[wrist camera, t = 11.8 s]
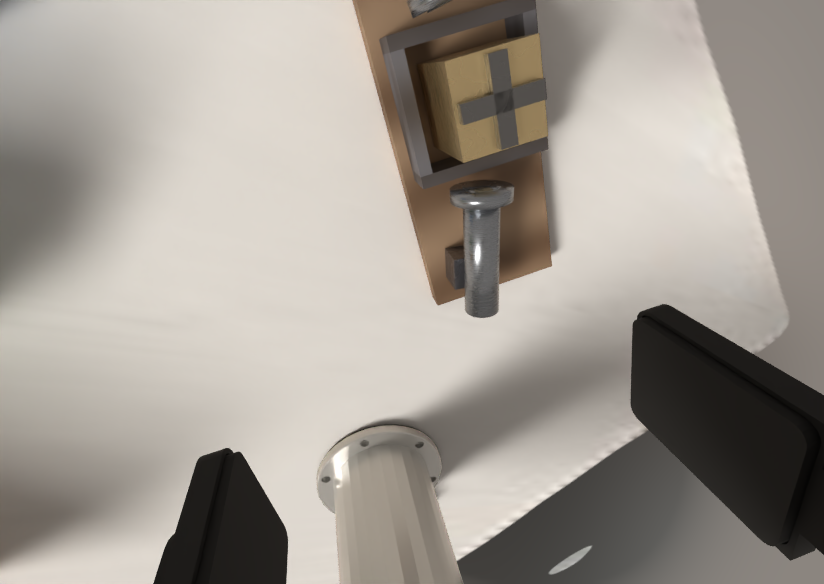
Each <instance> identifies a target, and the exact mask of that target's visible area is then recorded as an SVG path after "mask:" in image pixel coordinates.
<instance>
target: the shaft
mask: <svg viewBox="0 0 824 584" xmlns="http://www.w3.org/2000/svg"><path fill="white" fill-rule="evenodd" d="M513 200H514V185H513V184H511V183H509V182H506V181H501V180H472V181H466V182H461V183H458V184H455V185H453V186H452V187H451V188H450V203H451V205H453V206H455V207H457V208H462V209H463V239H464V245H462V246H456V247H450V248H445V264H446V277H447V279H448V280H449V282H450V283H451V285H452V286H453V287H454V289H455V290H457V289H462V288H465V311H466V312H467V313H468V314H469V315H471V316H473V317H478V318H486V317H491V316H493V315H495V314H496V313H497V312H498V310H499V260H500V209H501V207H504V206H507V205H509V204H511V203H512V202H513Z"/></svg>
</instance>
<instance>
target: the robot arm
mask: <svg viewBox="0 0 824 584" xmlns="http://www.w3.org/2000/svg"><path fill="white" fill-rule="evenodd" d="M631 408H632V411H633V413H634V414H635V416H636V417H637V419H638V420H639V421H640V422H641V423H642V424H643V425H644V426H645V427H646V428H647V429H648V430H649V431H651V432H652V433H653V434H654V435H655V436H656V437H657V438H658V439H659V440H660V441H661V442H662V443H663V444H664V445H665V446H666V447H667V448H668V449H669V450H670V451H671V452H672V453H673V454H674V455H675V456H676V457H677V458H678V459H679V460H680V461H681V462H682V463H683V464H684V465H685V466H686V467H687V468H688V469H689V470H690V471H691V472H692V473H693V474H694V475H695V476H696V477H697V478H698V479H699V480H700V481H701V482H702V483H703V484H704V485H705V486H706V487H707V488H709V490H711V492H712V493H714V494H715V495H716V496H717V497H718V498H719V499H720V500H721V501H722V502H723V503H724V504H725V505H726V506H727V507H728V508H729V509H730V510H731V511H732V512H733V513H734V514H735V515H736V516H737V517H738V518H739V519H740V520H741V521H742V522H743V523H744V524H745V525H746V526H747V527H748V528H749V529H750V530H751V531H752V532H753V533H754V534H755V535H756V536H757V537H758V538H759V539H761V540H762V541H763V542H764V543H766V544H767V545H770V546H776V547H777V548H778V549H779V550H780V551H781V552H782V553H783V554H784V555H785V556H786V557H787V558H788V559H789V560H793V559H795V558H798V557H800V556H803V555H805V554H808V553H810V552H812V551H815V549H816V548H817V549H818V550H819V551H820V552H821V553H822V554H823V555H824V395H822V394H821V393H819V392H817V391H815V390H814V389H812V388H810V387H809V386H807V385H805V384H803V383H802V382H800V381H798V380H796V379H795V378H793V377H791V376H790V375H788V374H786V373H785V372H783V371H781V370H779V369H778V368H776V367H774V366H772V365H771V364H769V363H767V362H766V361H764V360H762V359H760V358H759V357H757V356H755V355H754V354H752V353H750V352H749V351H747V350H745V349H743V348H742V347H740V346H738V345H737V344H735V343H733V342H731V341H730V340H728V339H726V338H725V337H723V336H721V335H719V334H718V333H716V332H714V331H712V330H711V329H709V328H707V327H706V326H704V325H702V324H700V323H699V322H697V321H695V320H694V319H692V318H690V317H688V316H687V315H685V314H683V313H682V312H680V311H678V310H676V309H675V308H673V307H671V306H669V305H667V304H662V305H659V306H656V307H653V308H650V309H647V310H644V311H642V312H640V313H639V314H638V316H637V320H635V321H634V322H633V334H632V370H631ZM441 466H442V464H441V459H440V455H439V452H438V450H437V447H436V445H435V444H434V443H433V441H432V440H431V439H430V438H429V437H428V436H427V435H425V434H424V433H422V432H420V431H418V430H416V429H413V428H409V427H405V426H397V425H388V426H378V427H372V428H368V429H365V430H362V431H359V432H357V433H355V434H353V435H351V436H348V437H346V438H345V439H344V440H342V441H341V442H339V443H338V444H336V445H335V446H334V447H333V448H332V449H331V450H330V451H329V452H328V453H327V455H326V456H325V457H324V459H323V460H322V462H321V464H320V467H319V469H318V473H317V491H318V495H319V498H320V500H321V501H322V503H323V505H324V506H325V507H326V508H328V509H329V510H330V511H331V512H333V513H335V520H336V535H337V551H338V566H339V581H340V584H463V581H462V578H461V575H460V572H459V568H458V565H457V562H456V558H455V555H454V552H453V549H452V545H451V542H450V539H449V536H448V533H447V529H446V526H445V523H444V520H443V516H442V513H441V510H440V507H439V503H438V500H437V497H436V494H435V490H434V487H435V485H436V484H437V482H438V480H439V477H440V474H441ZM287 554H288V537H287V532H286V529H285V526H284V524H283V523H282V521H281V519H280V517H279V516H278V514H277V512H276V511H275V509H274V507H273V506H272V504H271V502H270V500H269V499H268V497H267V495H266V494H265V492H264V490H263V489H262V487H261V485H260V483H259V482H258V480H257V478H256V477H255V475H254V473H253V471H252V470H251V468H250V466H249V465H248V463H247V461H246V460H245V458H244V456H243V455H242V453H241V452H235V453H233V451H232V450H231V449H229V448H225V449H222V450H219V451H216V452H213V453H210V454H207V455H204V456H201V457H200V458H199V459H198V461H197V463H196V466H195V469H194V473H193V476H192V479H191V482H190V486H189V489H188V492H187V496H186V499H185V502H184V505H183V509H182V512H181V515H180V518H179V522H178V525H177V528H176V532H175V534H174V535H173V536H172V537H171V538H170V539H169V540H168V542H167V544H166V547H165V549H164V552H163V555H162V558H161V561H160V565H159V568H158V571H157V574H156V577H155V580H154V583H153V584H286V576H287Z"/></svg>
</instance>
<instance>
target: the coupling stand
mask: <svg viewBox="0 0 824 584" xmlns="http://www.w3.org/2000/svg"><path fill="white" fill-rule="evenodd" d="M407 1H408V0H353V4H354V8H355V11H356V15H357V19H358V22H359V26H360V30H361V33H362V37H363V41H364V44H365V48H366V52H367V56H368V59H369V63H370V67H371V70H372V74H373V78H374V81H375V85H376V89H377V92H378V96H379V100H380V104H381V107H382V111H383V115H384V118H385V122H386V126H387V129H388V133H389V137H390V140H391V144H392V148H393V152H394V155H395V159H396V163H397V166H398V170H399V174H400V177H401V181H402V185H403V188H404V192H405V196H406V199H407V203H408V207H409V211H410V214H411V218H412V222H413V225H414V229H415V233H416V236H417V240H418V244H419V247H420V251H421V255H422V259H423V262H424V266H425V270H426V273H427V277H428V281H429V284H430V288H431V292H432V295H433V298H434V300H435V302H436V303H437V305H441V304H444V303H447V302H450V301H452V300H455V299H458V298H461V297H464V296H465V288H462V289H457V290H455V289H454V287H453V286H452V285H451V283H450V282H449V280H448V279H447V277H446V264H445V248H450V247H456V246H462V245H464V239H463V209H462V208H457V207H455V206H453V205H451V203H450V188H451V187H452V186H453V185H455V184H458V183H461V182H466V181H472V180H501V181H506V182H509V183H511V184H513V185H514V200H513V202H512V203H511V204H509V205H507V206H504V207H501V209H500V260H499V284H501V283H504V282H507V281H510V280H513V279H516V278H519V277H522V276H525V275H527V274H530V273H533V272H536V271H539V270H542V269H545V268H548V267H551V266H552V261H551V251H550V241H549V231H548V220H547V210H546V200H545V189H544V179H543V169H542V159H541V151H544V150H547V149H548V139H547V136H546V137H543V138H540V139H537V140H534V141H531V142H527V143H524V144H521V145H518V146H515V147H512V148H509V149H506V150H503V151H499V152H496V153H493V154H490V155H487V156H484V157H481V158H478V159H474V160H471V161H468V162H465V163H463V162H461V161H459V160H457V159H456V158H454V157H452V156H450V155H448V154H447V153H445V152H443V151H441V150H439V149H438V148H436V147H434V142H433V138H432V133H431V129H430V124H429V120H428V115H427V110H426V106H425V101H424V97H423V92H422V88H421V83H420V79H419V74H418V69H417V65H416V64H419V63H423V62H426V61H429V60H433V59H436V58H439V57H443V56H446V55H449V54H453V53H456V52H459V51H463V50H466V49H469V48H473V47H476V46H479V45H483V44H486V43H489V42H493V41H498V40H504V39H509V38H515V37H520V36H526V35H531V34H537V33H538V26H537V14H536V3H535V0H452V1H450V2H448V3H446V4H445V5H443V6H441V7H439V8H437V9H435V10H433V11H431V12H429V13H427V11H426V12H425V13H423V14H421V15H419V16H417V17H415V18H412V15H411V12H410V10H409V7H408V4H407Z"/></svg>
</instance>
